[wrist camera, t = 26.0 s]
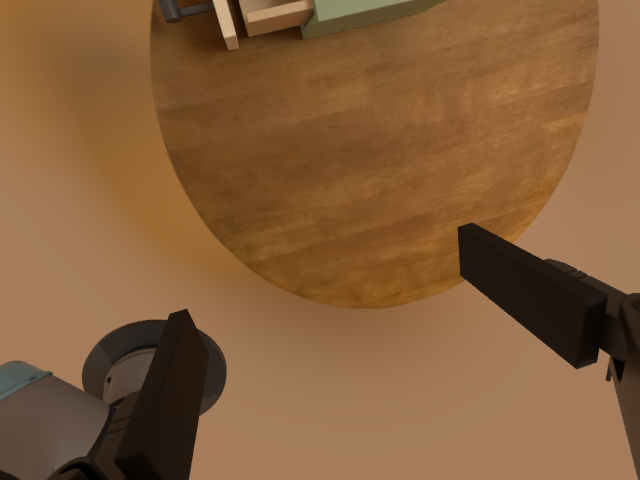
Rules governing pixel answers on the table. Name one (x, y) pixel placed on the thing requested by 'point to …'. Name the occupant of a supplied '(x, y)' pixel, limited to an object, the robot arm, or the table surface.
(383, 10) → the cabinet
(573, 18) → the table surface
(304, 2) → the drawer
